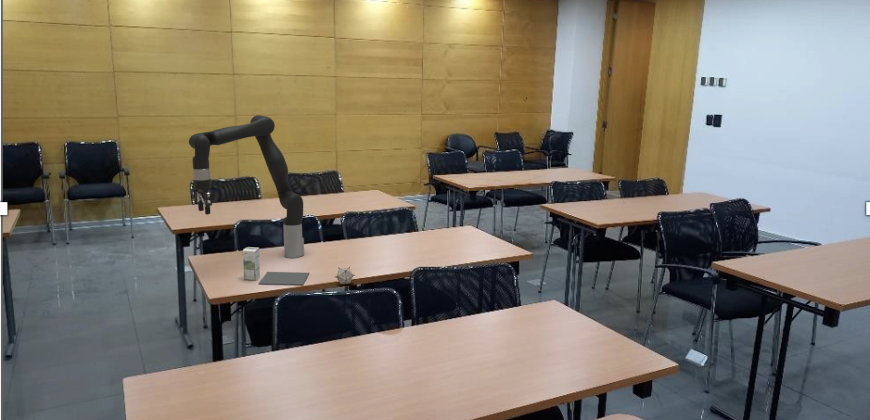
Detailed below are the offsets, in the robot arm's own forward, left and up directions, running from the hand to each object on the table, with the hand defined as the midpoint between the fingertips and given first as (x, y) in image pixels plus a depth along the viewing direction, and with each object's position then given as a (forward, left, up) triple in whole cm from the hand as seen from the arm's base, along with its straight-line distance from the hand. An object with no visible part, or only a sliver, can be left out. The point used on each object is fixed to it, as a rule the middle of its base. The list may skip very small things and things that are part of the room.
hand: (204, 212), depth 288 cm
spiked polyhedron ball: (-43, +52, -30) cm, 73 cm away
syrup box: (-13, +20, -30) cm, 38 cm away
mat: (-24, +29, -29) cm, 48 cm away
